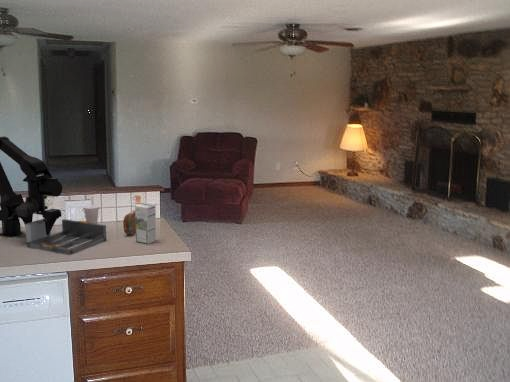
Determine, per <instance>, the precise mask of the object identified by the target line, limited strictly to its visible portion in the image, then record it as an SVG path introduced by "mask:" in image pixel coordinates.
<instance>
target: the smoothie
mask: <svg viewBox="0 0 510 382" xmlns="http://www.w3.org/2000/svg"><path fill="white" fill-rule="evenodd" d="M82 208H83V209H82V210H83V211H84V218H85V221H87V222H90V223H94V224H98V221H99V220H98V219H99V210H100V205H98V204H94V196H93V195H91V204H87V205H84V206H82Z"/></svg>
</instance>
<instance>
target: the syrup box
mask: <svg viewBox="0 0 510 382" xmlns="http://www.w3.org/2000/svg"><path fill="white" fill-rule="evenodd" d="M134 210H135V221H136V233H135V242H136V243H141V244H146V245H148V244H151V243H154V242H156V241H157V232H156V231H157V229H156V226H157V225H156V223H157V219H156V210H157V209H156V204H153V203H148V202H147V203H145V202H141V203H139V204H136V205H134Z"/></svg>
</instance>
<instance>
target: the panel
mask: <svg viewBox="0 0 510 382" xmlns="http://www.w3.org/2000/svg"><path fill="white" fill-rule="evenodd" d="M42 219H43V218H41V219H38V220H37V219H36V220H34V221H32V222H30V223H27V224H24V226H25V225H26V227H25V238H26V239H25V240H26V241H25V242H26V243H28V242H31V241H34V240H37V239H40V238H43V237H46V236H49V235H52V234H51V233H52V231H51V232H50V234H49V235H46V229H45V222H44V221H43V220H42Z"/></svg>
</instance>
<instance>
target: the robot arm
mask: <svg viewBox="0 0 510 382" xmlns="http://www.w3.org/2000/svg"><path fill="white" fill-rule="evenodd" d="M0 151H1V152H3V153H4V154H5V155H7V156H8V157H9V158H10V159H11V160H13V161H14V162H15V163H16V164H18V165H19V168H20V171H21V172H22V173H23V174H24V175H25V178H23V179H22V182H24V183H27V193H28V194H27V196H25V200H24V197H23V195H22V194H21V193H19V194H17V193H15V191H14V190H13V188H12V185H11V183H10V180H9V177H8V176H7V174H6V172H5V169H4V167H3V165H2V163H1V162H2V161H0V222H1V230H2V232H0V236H5V237H9V238H10V237H15V236H17V235H21V234H24V231H22V229H21V222H20V219H21V220H22V222H23V224H24V226H25V228H26V225H25V224H27V223H30V222H33V218H34V215H41V216H42V218H41V219H42V220H43V221H44V222H45V229H46V235H49V234H50V232H51V233H52V229H53V227H54V224H55V223H56V221H57V220H58V219H60V218H62V211H61V209H59V208H49V209H48V206H47V205H46V199H48V197H57V198H58V197H59V196H61V195H62V192H63V185H62V183H61V182H60V181H59V179H58V177H53V176H52V173H51V172H50V171H49V169H48V167H47V166H46V163H45V161H43V160H42V159H40V158H39V157H38V158H37V157H35V156H32V155H29V154H27V152H25V151H24V150H22V149H21V148H20V147H19V146H17V144H15V143H14V142H12V141H11V140H10V138H9V137H7V136H0Z"/></svg>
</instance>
